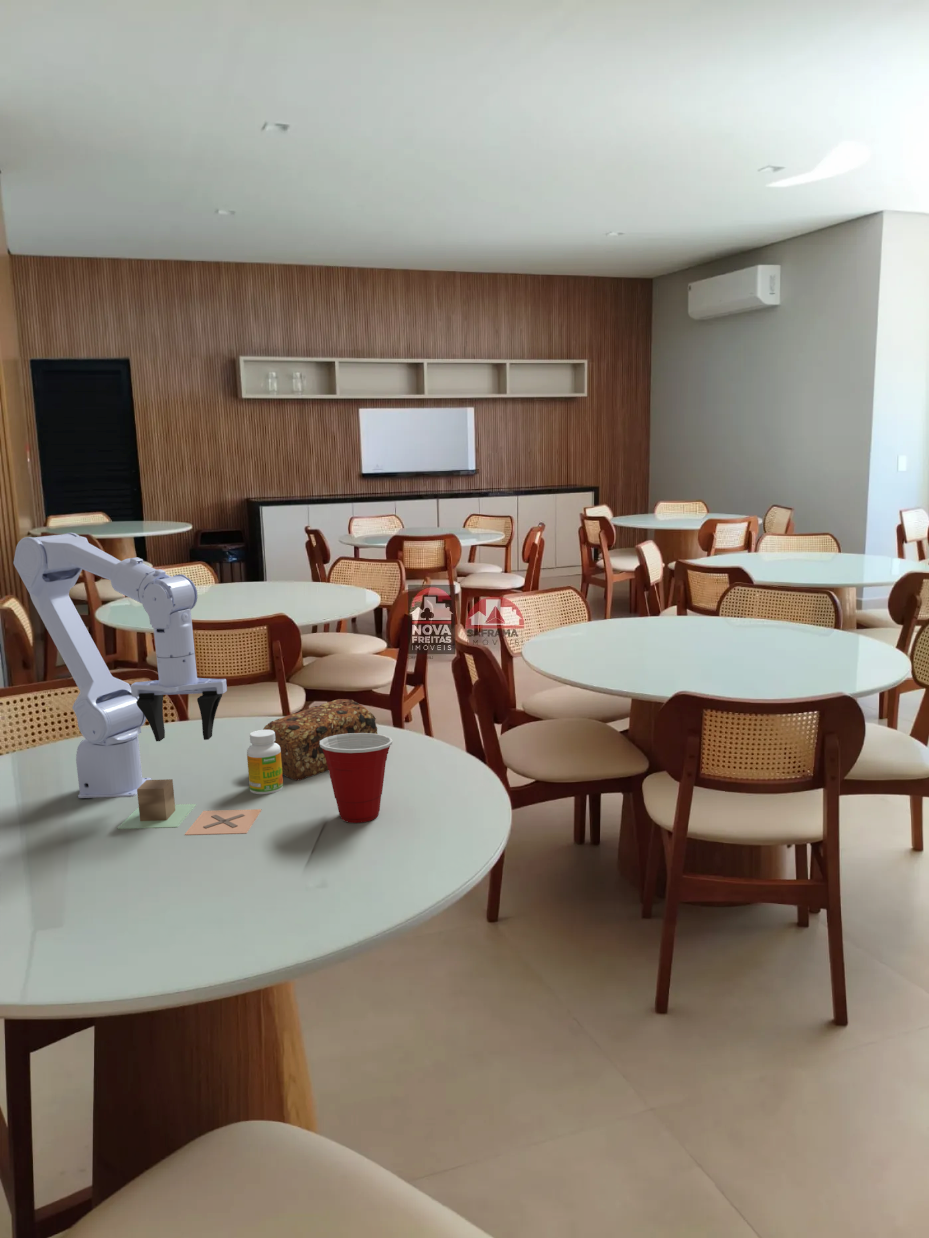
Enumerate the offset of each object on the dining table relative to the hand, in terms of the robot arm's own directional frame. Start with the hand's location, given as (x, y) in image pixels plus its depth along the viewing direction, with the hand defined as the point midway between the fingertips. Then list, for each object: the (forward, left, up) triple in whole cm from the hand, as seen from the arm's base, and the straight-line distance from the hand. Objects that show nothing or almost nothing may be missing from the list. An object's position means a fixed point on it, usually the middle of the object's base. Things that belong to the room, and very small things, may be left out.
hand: (184, 738), depth 144 cm
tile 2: (+8, -10, -10) cm, 17 cm away
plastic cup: (+28, -8, -11) cm, 31 cm away
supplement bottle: (+11, +4, -11) cm, 16 cm away
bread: (+18, +18, -11) cm, 27 cm away
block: (-3, -7, -10) cm, 12 cm away
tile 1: (-3, -7, -10) cm, 13 cm away
